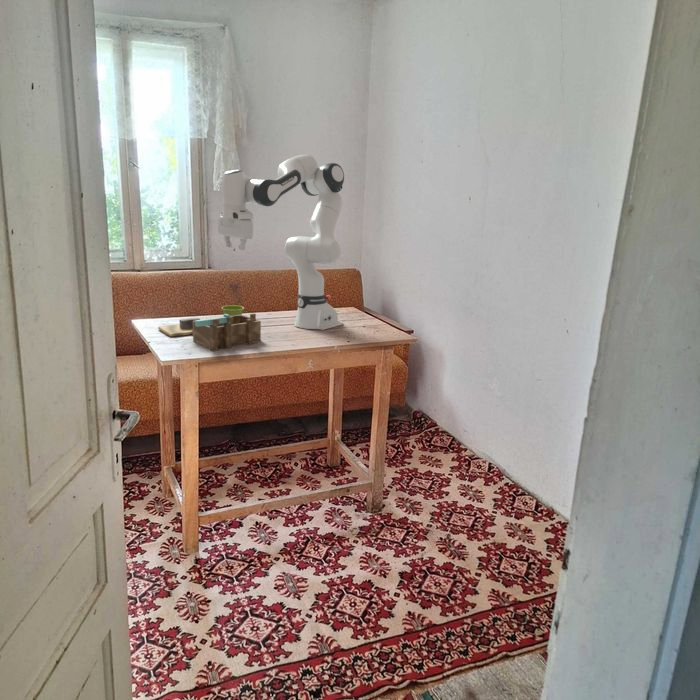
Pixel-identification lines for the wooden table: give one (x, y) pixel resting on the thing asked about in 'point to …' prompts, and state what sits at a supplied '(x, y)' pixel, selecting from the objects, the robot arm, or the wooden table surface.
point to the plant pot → (233, 310)
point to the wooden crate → (228, 332)
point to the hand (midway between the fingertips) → (235, 248)
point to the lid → (179, 328)
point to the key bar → (211, 321)
